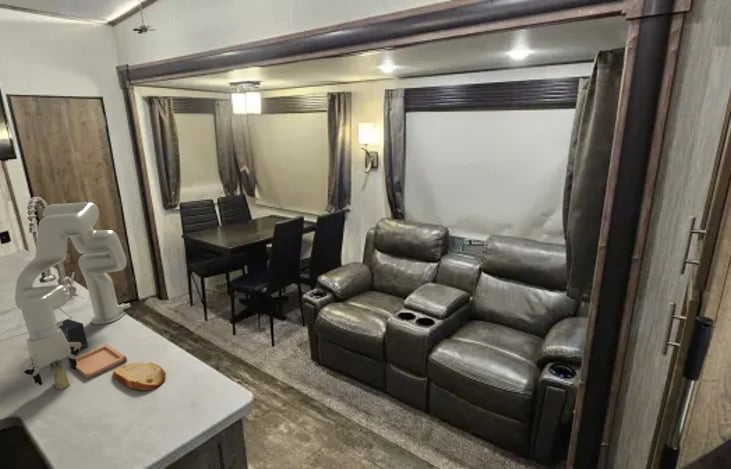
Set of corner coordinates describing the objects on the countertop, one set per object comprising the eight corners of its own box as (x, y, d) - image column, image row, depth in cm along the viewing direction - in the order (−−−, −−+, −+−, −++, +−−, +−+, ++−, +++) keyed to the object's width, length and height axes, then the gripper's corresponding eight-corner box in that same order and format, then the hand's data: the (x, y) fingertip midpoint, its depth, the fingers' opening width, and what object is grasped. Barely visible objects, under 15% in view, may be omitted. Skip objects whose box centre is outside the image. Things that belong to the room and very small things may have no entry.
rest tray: (107, 347, 156) (106, 343, 155) (127, 360, 147) (126, 356, 146) (69, 364, 146) (68, 360, 145) (87, 379, 137) (86, 375, 136)
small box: (90, 346, 158) (83, 322, 155) (72, 354, 152) (66, 330, 149) (74, 340, 162) (67, 317, 159) (56, 349, 156) (49, 325, 153)
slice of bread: (114, 371, 142) (112, 362, 141) (169, 359, 147) (167, 350, 146) (101, 403, 125) (99, 393, 124) (164, 388, 131) (162, 379, 130)
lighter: (70, 386, 134) (62, 360, 131) (56, 391, 131) (48, 365, 128) (66, 377, 138) (58, 352, 136) (52, 382, 136) (45, 357, 133)
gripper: (70, 317, 138) (81, 359, 142) (6, 339, 124) (21, 385, 129) (78, 322, 133) (90, 366, 138) (13, 347, 120) (29, 394, 125)
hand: (57, 375), depth 134 cm, fingers open, 9 cm apart
